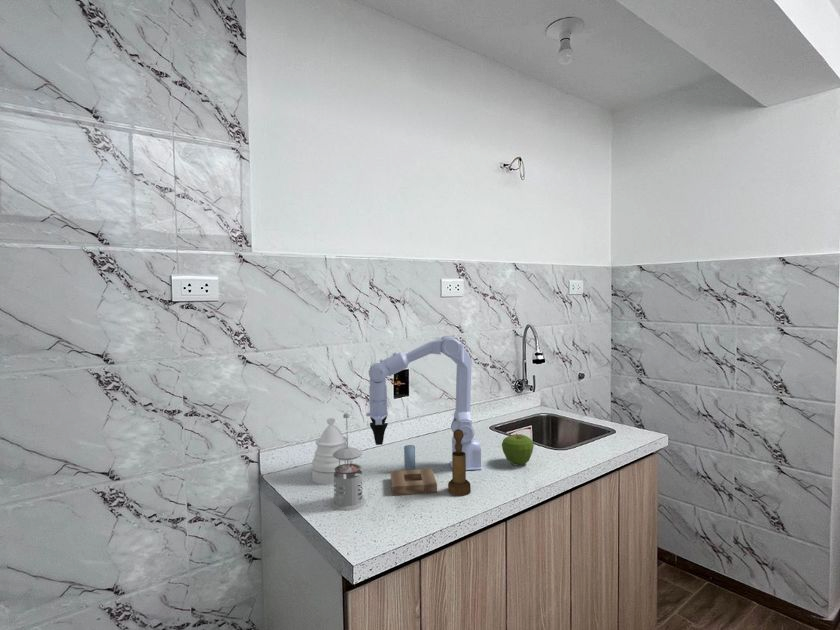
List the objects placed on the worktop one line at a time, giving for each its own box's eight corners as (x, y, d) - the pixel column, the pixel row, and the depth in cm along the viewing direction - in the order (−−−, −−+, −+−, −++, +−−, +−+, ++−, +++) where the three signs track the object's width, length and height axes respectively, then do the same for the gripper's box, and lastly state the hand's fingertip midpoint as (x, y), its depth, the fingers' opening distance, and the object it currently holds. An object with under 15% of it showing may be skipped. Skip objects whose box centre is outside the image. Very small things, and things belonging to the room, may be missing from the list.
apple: (520, 456, 154) (520, 428, 154) (541, 465, 145) (540, 436, 145) (495, 461, 150) (495, 432, 149) (515, 471, 140) (514, 441, 140)
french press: (334, 514, 114) (332, 419, 113) (326, 496, 124) (324, 409, 124) (370, 506, 117) (368, 414, 117) (359, 490, 128) (357, 406, 128)
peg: (414, 468, 145) (414, 444, 144) (415, 472, 141) (415, 448, 141) (404, 469, 144) (403, 445, 144) (404, 473, 141) (404, 448, 140)
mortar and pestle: (464, 498, 122) (463, 434, 121) (444, 493, 125) (442, 431, 125) (474, 489, 127) (473, 428, 127) (454, 484, 131) (453, 425, 130)
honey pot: (310, 472, 143) (309, 418, 143) (349, 466, 147) (347, 414, 147) (314, 487, 131) (313, 428, 131) (356, 480, 135) (355, 423, 135)
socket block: (431, 476, 137) (431, 468, 137) (437, 492, 125) (436, 484, 125) (390, 479, 136) (390, 471, 136) (392, 495, 124) (392, 486, 124)
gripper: (366, 395, 149) (367, 435, 149) (365, 405, 135) (366, 448, 135) (387, 395, 150) (387, 434, 150) (388, 404, 135) (389, 447, 136)
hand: (379, 440), depth 142 cm, fingers open, 7 cm apart
